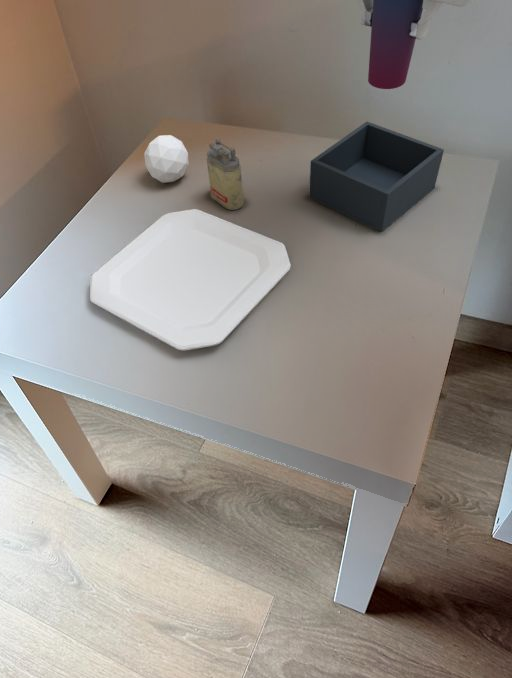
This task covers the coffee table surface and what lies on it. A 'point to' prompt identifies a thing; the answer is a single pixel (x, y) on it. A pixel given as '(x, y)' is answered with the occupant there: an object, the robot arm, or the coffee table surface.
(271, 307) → the coffee table surface
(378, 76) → the cup
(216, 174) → the lighter
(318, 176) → the tub
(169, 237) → the plate
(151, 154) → the geometric ball
